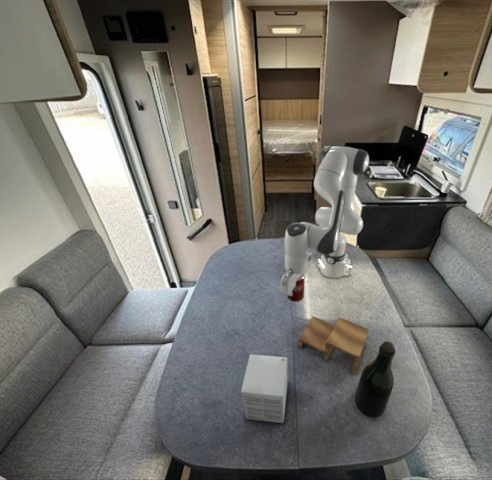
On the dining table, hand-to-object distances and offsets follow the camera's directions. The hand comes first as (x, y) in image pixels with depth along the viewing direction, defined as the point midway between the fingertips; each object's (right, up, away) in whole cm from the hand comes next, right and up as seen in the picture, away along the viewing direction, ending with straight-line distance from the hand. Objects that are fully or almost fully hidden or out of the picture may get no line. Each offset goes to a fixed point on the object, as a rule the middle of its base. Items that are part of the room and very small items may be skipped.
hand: (295, 288), depth 110 cm
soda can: (0, -4, +3) cm, 5 cm away
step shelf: (+16, -25, +2) cm, 30 cm away
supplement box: (-10, -37, -16) cm, 42 cm away
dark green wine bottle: (+26, -38, -17) cm, 49 cm away
